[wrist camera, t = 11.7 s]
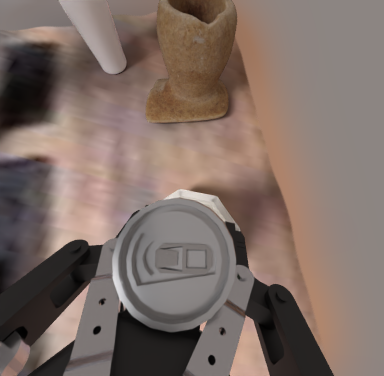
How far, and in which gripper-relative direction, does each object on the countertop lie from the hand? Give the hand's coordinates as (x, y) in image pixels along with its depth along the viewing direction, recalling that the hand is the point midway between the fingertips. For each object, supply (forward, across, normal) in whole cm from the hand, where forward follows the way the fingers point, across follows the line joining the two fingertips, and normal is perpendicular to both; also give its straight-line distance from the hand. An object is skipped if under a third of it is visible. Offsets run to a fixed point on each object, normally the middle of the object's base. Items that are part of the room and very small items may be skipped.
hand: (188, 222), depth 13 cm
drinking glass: (+31, +23, -10) cm, 40 cm away
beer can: (+3, 0, +6) cm, 6 cm away
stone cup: (+28, +6, -6) cm, 29 cm away
